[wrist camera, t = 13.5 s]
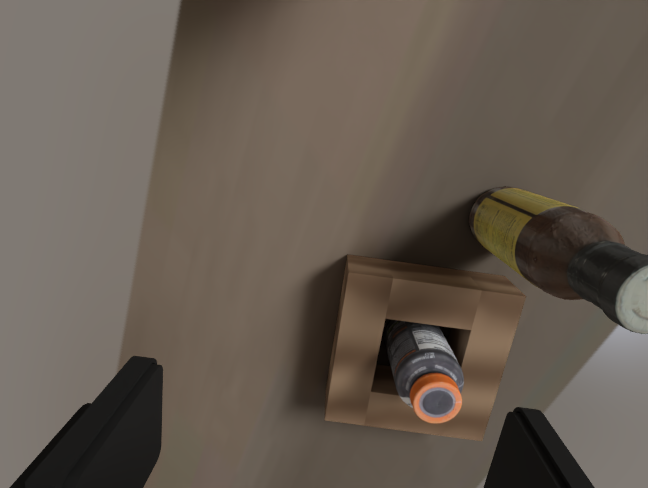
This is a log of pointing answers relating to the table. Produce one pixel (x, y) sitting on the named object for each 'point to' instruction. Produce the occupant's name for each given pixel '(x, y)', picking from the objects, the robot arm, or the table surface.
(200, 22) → the table surface
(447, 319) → the socket block
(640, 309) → the sauce bottle
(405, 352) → the pill bottle
